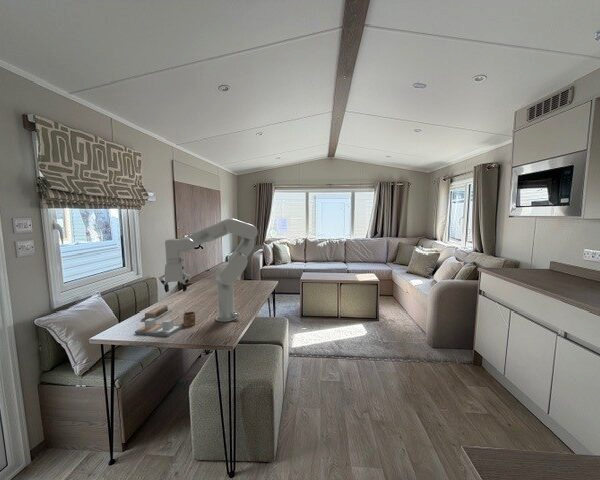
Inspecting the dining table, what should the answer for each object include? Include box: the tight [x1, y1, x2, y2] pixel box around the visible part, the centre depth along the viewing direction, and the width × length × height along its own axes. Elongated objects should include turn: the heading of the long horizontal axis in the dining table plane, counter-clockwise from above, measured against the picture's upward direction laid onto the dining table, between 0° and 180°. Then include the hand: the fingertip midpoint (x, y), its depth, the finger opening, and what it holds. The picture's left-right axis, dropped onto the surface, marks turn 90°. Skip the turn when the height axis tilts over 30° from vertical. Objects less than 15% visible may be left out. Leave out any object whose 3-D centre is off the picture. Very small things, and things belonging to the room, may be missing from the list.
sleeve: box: [183, 311, 196, 327], centre depth 169 cm, size 6×6×6 cm
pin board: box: [134, 318, 183, 337], centre depth 159 cm, size 20×12×6 cm, turn 78°
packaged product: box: [140, 305, 172, 321], centre depth 185 cm, size 18×5×10 cm
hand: (175, 291), depth 165 cm, fingers open, 9 cm apart
